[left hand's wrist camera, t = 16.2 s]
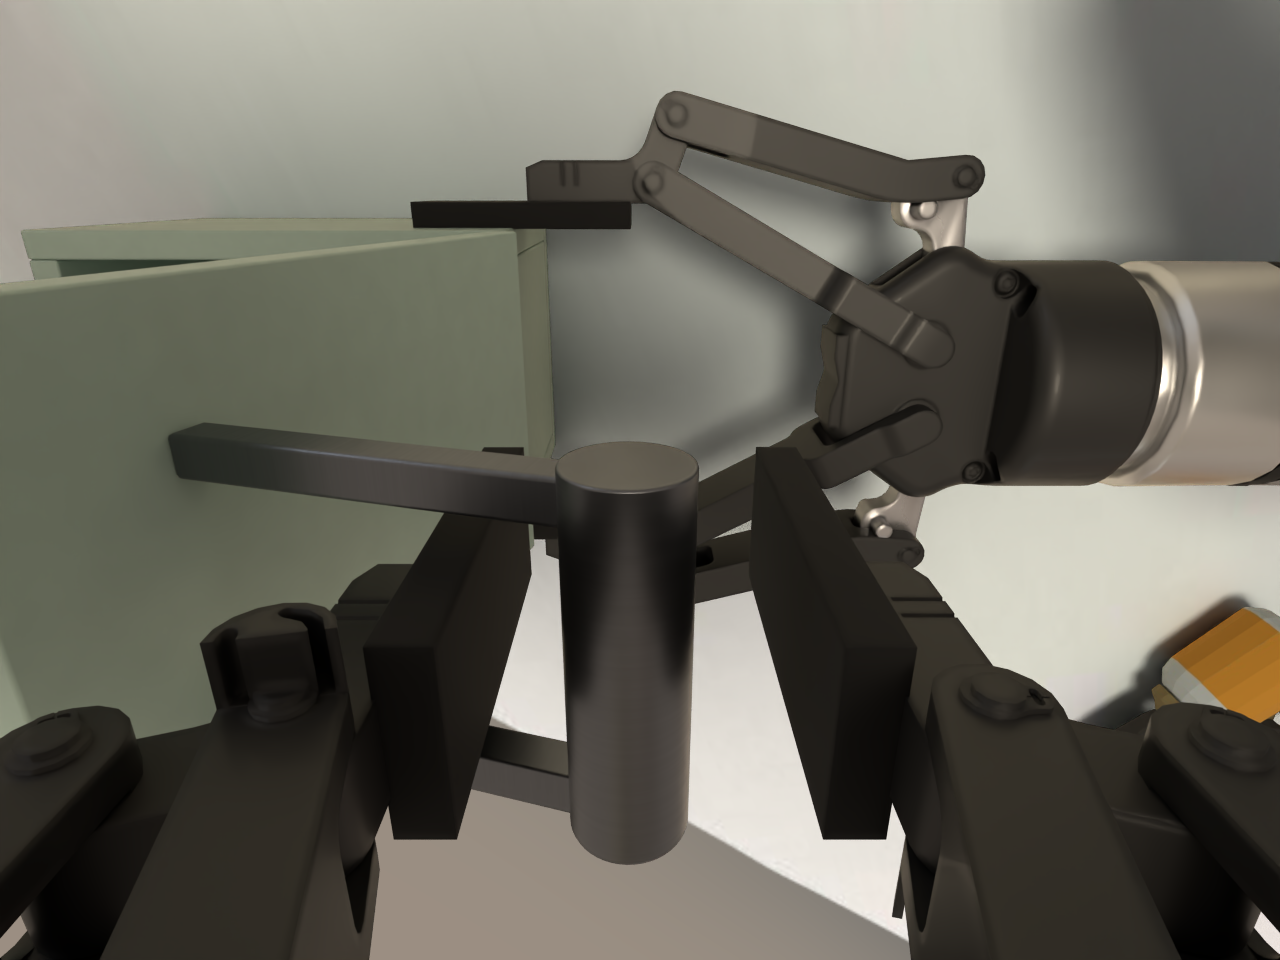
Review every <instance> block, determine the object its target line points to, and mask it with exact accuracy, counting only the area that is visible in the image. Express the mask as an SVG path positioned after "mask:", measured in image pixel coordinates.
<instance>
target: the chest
mask: <svg viewBox="0 0 1280 960" xmlns="http://www.w3.org/2000/svg"><path fill="white" fill-rule="evenodd" d="M488 231H512V232H516V239H517V256H518V273H519V290H520V308H521V325H522V342H523V360H524V377H525V394H526V411H527V429H528V446H529V456H530V457H540V458H549V459H551V456H552V453H553V450H554V447H555V427H554V405H553V382H552V359H551V336H550V313H549V290H548V268H547V245H546V229H512V228H413V222H412V218H200V219H184V220H169V221H153V222H138V223H123V224H107V225H92V226H77V227H61V228H46V229H31V230H23V231H21V234H22V238H23V241H24V245H25V248H26V251H27V255H28V258H29V259H32V260H31V261H30V265H31V268H32V272H33V275H34V279H35V280H41V279H50V278H60V277H69V276H78V275H88V274H97V273H106V272H115V271H125V270H134V269H143V268H153V267H162V266H171V265H181V264H190V263H199V262H209V261H218V260H227V259H237V258H246V257H255V256H265V255H274V254H283V253H293V252H302V251H311V250H320V249H330V248H339V247H348V246H358V245H367V244H376V243H386V242H395V241H404V240H414V239H423V238H432V237H442V236H451V235H460V234H470V233H479V232H488Z"/></svg>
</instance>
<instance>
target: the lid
mask: <svg viewBox="0 0 1280 960" xmlns="http://www.w3.org/2000/svg"><path fill="white" fill-rule="evenodd" d="M484 447H524V456H521V455H511V454H502V453H492V452H483V451H482V449H483V448H484ZM698 484H699V466H698V463H697V461H696V460H695V459H694V458H693V457H692V456H691V455H689V454H688V453H686V452H684V451H682V450H679V449H676V448H673V447H670V446H665V445H661V444H655V443H647V442H609V443H601V444H595V445H590V446H586V447H582V448H579V449H576V450H574V451H571V452H569V453H567V454H565V455H564V456H563V457H561V458H560V459H549V458H540V457H530V456H529V446H528V429H527V411H526V394H525V377H524V360H523V342H522V325H521V308H520V290H519V273H518V256H517V239H516V232H512V231H488V232H479V233H470V234H460V235H451V236H442V237H432V238H423V239H414V240H404V241H395V242H386V243H376V244H367V245H358V246H348V247H339V248H330V249H320V250H311V251H302V252H293V253H283V254H274V255H265V256H255V257H246V258H237V259H227V260H218V261H209V262H199V263H190V264H181V265H171V266H162V267H153V268H143V269H134V270H125V271H115V272H106V273H97V274H88V275H78V276H69V277H60V278H50V279H41V280H32V281H22V282H13V283H4V284H0V738H2V737H3V736H5V735H6V734H8V733H9V732H10V731H12V730H14V729H17V728H19V727H21V726H23V725H25V724H27V723H30V722H32V721H34V720H35V719H37V718H39V717H41V716H44V715H47V714H50V713H53V712H54V713H57V712H58V711H61V710H66V709H71V708H79V707H88V706H98V705H99V706H105V707H111V708H117V709H120V710H121V711H122V712H123V713H124V714H126V715H127V716H128V717H129V718H130V720H131V723H132V727H133V730H134V733H135V736H136V739H139V738H144V737H149V736H154V735H159V734H163V733H168V732H173V731H178V730H183V729H188V728H193V727H197V726H200V725H204V724H208V723H211V721H212V718H213V716H214V714H215V712H216V710H217V709H216V705H215V702H214V698H213V694H212V690H211V686H210V682H209V678H208V674H207V671H206V667H205V663H204V659H203V655H202V651H201V647H200V644H199V643H200V642H201V641H202V640H203V639H204V638H205V637H206V636H207V635H208V634H209V633H210V632H211V630H212V629H214V628H216V627H217V626H219V625H221V624H222V623H224V622H226V621H227V620H229V619H231V618H232V617H235V616H237V615H240V614H243V613H245V612H248V611H251V610H253V609H256V608H260V607H265V606H270V605H275V604H280V603H310V604H315V605H319V606H323V607H326V608H327V609H328V610H329V611H330V610H331V609H332V608H333V606H334V605H335V604H338V599H339V598H340V597H341V595H342V594H343V593H344V591H345V590H346V589H347V587H348V586H349V584H350V583H351V582H352V580H354V579H355V578H357V577H359V576H360V575H362V574H363V573H365V572H366V571H368V570H369V569H371V568H372V567H374V566H376V565H377V564H413V563H414V562H415V560H416V558H417V557H418V555H419V553H420V552H421V550H422V548H423V547H424V545H425V543H426V542H427V540H428V539H429V537H430V535H431V534H432V532H433V530H434V529H435V527H436V525H437V524H438V522H439V520H440V519H441V517H442V515H443V514H444V513H447V514H455V515H463V516H470V517H478V518H486V519H493V520H501V521H508V522H516V523H524V524H529V540H530V549H531V548H532V547H533V546H534V532H533V525H539V526H547V527H554V528H558V550H559V573H560V595H561V618H562V640H563V662H564V685H565V707H566V730H567V742H565V741H560V740H556V739H551V738H546V737H541V736H537V735H532V734H527V733H523V732H518V731H513V730H509V729H504V728H499V727H494V726H490V725H489V727H488V731H487V734H486V738H485V741H484V745H483V748H482V752H481V756H480V759H479V763H478V766H477V770H476V773H475V777H474V780H473V784H472V787H471V789H473V790H477V791H481V792H486V793H490V794H494V795H498V796H502V797H506V798H511V799H515V800H519V801H523V802H528V803H531V804H536V805H540V806H544V807H548V808H552V809H556V810H561V811H565V812H569V813H570V819H571V826H572V830H573V832H574V834H575V837H576V838H577V840H578V841H579V843H580V844H581V845H582V846H583V847H584V848H585V849H586V850H587V851H588V852H590V853H591V854H592V855H594V856H596V857H598V858H600V859H602V860H605V861H608V862H611V863H616V864H625V865H632V864H641V863H646V862H649V861H652V860H655V859H658V858H659V857H661V856H663V855H665V854H666V853H668V852H669V851H670V850H672V849H673V848H674V847H675V846H676V845H677V843H678V842H679V841H680V839H681V838H682V836H683V834H684V832H685V830H686V827H687V822H688V796H689V765H690V734H691V703H692V672H693V640H694V609H695V578H696V547H697V516H698Z"/></svg>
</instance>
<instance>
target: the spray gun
mask: <svg viewBox="0 0 1280 960" xmlns="http://www.w3.org/2000/svg"><path fill="white" fill-rule="evenodd" d="M1162 684H1163V685H1164V687H1165V688H1164V687H1163V686H1162V685H1161V684H1158V685H1157V686H1155V687H1154V688H1153V689H1152V694H1153V697H1154V700H1155V709H1156V710H1157V709H1159V708H1160V707H1161V706H1162V705H1168V704H1174V703H1180V702H1187V703H1196V704H1206V705H1213V706H1217V707H1222V708H1224V709H1226V710H1227V709H1229V710H1232V711H1235V712H1238V713H1241V714H1243V715H1245V716H1247V717H1248V718H1251V719H1253V720H1255V721H1257V722H1259V723H1261V724H1264V725H1266V726H1268V727H1270V728H1272V729H1273V730H1275V731H1276V732H1278V733H1279V734H1280V725H1278V724H1277V723H1276V722H1275V721H1273V719H1274V717H1275V714H1276V713H1278V712H1280V617H1279V616H1278V615H1276V614H1275V613H1273V612H1271V611H1269V610H1267V609H1262V608H1253V607H1244V608H1242V609H1240V610H1239V611H1237V612H1236V613H1235V614H1233V615H1232V616H1230V617H1229V618H1227V619H1226V620H1224V621H1223V622H1221V623H1220V624H1219V625H1217V626H1216V627H1214V628H1213V629H1211V630H1210V631H1208V632H1207V633H1205V634H1204V635H1203V636H1201V637H1200V638H1198V639H1197V640H1195V641H1194V642H1192V643H1191V644H1189V645H1188V646H1187V647H1185V648H1184V649H1182V650H1181V651H1179V652H1178V653H1176V654H1175V655H1173V656H1172V657H1171V658H1170V659H1169V661H1168V662H1167V663H1166V664H1165V665H1164V667H1163V668H1162ZM1155 709H1154V710H1151V711H1148V712H1146V713H1143V714H1142V715H1140V716H1138V717H1136V718H1135V719H1133V720H1131V721H1129V722H1128V723H1126V724H1124V725H1122V726H1121V727H1119V728H1117V729H1115V730H1118V731H1123V732H1128V733H1133V734H1138V735H1143V736H1145V733H1146V730H1147V727H1148V723H1149V720H1150V717H1151V714H1153V713H1154V712H1155V711H1156V710H1155Z"/></svg>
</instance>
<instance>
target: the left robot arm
mask: <svg viewBox="0 0 1280 960" xmlns="http://www.w3.org/2000/svg"><path fill="white" fill-rule="evenodd" d="M482 451H483V452H492V453H502V454H511V455H521V456H524V447H484V448H483V449H482ZM531 575H532V573H531V557H530V540H529V524H524V523H516V522H508V521H501V520H493V519H486V518H478V517H470V516H463V515H455V514H447V513H444V514H443V515H442V517H441V519H440V520H439V522H438V524H437V525H436V527H435V529H434V530H433V532H432V534H431V535H430V537H429V539H428V540H427V542H426V543H425V545H424V547H423V548H422V550H421V552H420V553H419V555H418V557H417V558H416V560H415V562H414V563H413V564H377V565H376V566H374V567H372V568H371V569H369V570H368V571H366V572H365V573H363V574H362V575H360V576H359V577H357V578H355V579H354V580H352V582H351V583H350V584H349V586H348V587H347V589H346V590H345V591H344V593H343V594H342V595H341V597H340V598H339V599H338V604H335V605H334V606H333V608H332V609H331V610H330V611H329V610H328V609H327V608H326V607H323V606H319V605H315V604H310V603H280V604H275V605H270V606H265V607H260V608H256V609H253V610H251V611H248V612H245V613H243V614H240V615H237V616H235V617H232V618H231V619H229V620H227V621H226V622H224V623H222V624H221V625H219V626H217V627H216V628H214V629H212V630H211V632H210V633H209V634H208V635H207V636H206V637H205V638H204V639H203V640H202V641H201V642H200V643H199V644H200V647H201V651H202V655H203V659H204V663H205V667H206V671H207V674H208V678H209V682H210V686H211V690H212V694H213V698H214V702H215V705H216V709H217V710H216V712H215V714H214V716H213V718H212V721H211V723H208V724H204V725H200V726H197V727H193V728H188V729H183V730H178V731H173V732H168V733H163V734H159V735H154V736H149V737H144V738H139V739H136V736H135V733H134V730H133V727H132V723H131V720H130V718H129V717H128V716H127V715H126V714H124V713H123V712H122V711H121V710H120V709H117V708H111V707H105V706H99V705H98V706H88V707H79V708H71V709H66V710H61V711H58V712H57V713H54V712H53V713H50V714H47V715H44V716H41V717H39V718H37V719H35V720H34V721H32V722H30V723H27V724H25V725H23V726H21V727H19V728H17V729H14V730H12V731H10V732H9V733H8V734H6V735H5V736H3V737H2V738H0V938H1V937H2V936H3V935H4V933H5V932H6V931H7V930H8V929H9V928H10V927H11V925H12V924H13V923H14V922H15V921H16V920H17V919H18V917H19V916H20V915H21V917H22V919H23V922H24V924H25V926H26V929H27V932H26V933H25V934H24V935H23V936H22V938H21V939H20V940H19V941H18V942H17V944H16V945H15V946H14V947H12V948H11V949H10V950H9V951H8V952H7V953H6V954H4V955H3V956H2V957H1V958H0V960H369V956H370V947H371V939H372V931H373V922H374V913H375V905H376V897H377V888H378V880H379V871H380V868H379V861H378V854H377V848H376V842H375V836H376V834H377V831H378V829H379V827H380V824H381V822H382V819H383V817H384V814H385V812H386V809H387V807H389V813H390V819H391V825H392V831H393V837H394V839H397V840H400V839H401V840H402V839H403V840H404V839H405V840H406V839H408V840H409V839H410V840H412V839H418V840H419V839H421V840H424V839H425V840H426V839H427V840H428V839H429V840H430V839H431V840H432V839H433V840H436V839H437V840H438V839H440V840H442V839H446V840H447V839H450V840H451V839H454V840H455V839H457V837H458V833H459V830H460V826H461V823H462V819H463V816H464V812H465V809H466V805H467V802H468V798H469V795H470V791H471V787H472V784H473V780H474V777H475V773H476V770H477V766H478V763H479V759H480V756H481V752H482V748H483V745H484V741H485V738H486V734H487V731H488V727H489V724H490V720H491V716H492V713H493V709H494V706H495V702H496V699H497V695H498V692H499V688H500V685H501V681H502V677H503V674H504V670H505V667H506V663H507V660H508V656H509V653H510V649H511V645H512V642H513V638H514V635H515V631H516V628H517V624H518V621H519V617H520V614H521V610H522V606H523V603H524V599H525V596H526V592H527V589H528V585H529V582H530V578H531ZM748 575H749V578H750V582H751V585H752V589H753V592H754V596H755V599H756V603H757V606H758V610H759V614H760V617H761V621H762V624H763V628H764V631H765V635H766V638H767V642H768V646H769V649H770V653H771V656H772V660H773V663H774V667H775V670H776V674H777V677H778V681H779V685H780V688H781V692H782V695H783V699H784V702H785V706H786V709H787V713H788V716H789V720H790V724H791V727H792V731H793V734H794V738H795V741H796V745H797V748H798V752H799V756H800V759H801V763H802V766H803V770H804V773H805V777H806V780H807V784H808V787H809V791H810V795H811V798H812V802H813V805H814V809H815V812H816V816H817V819H818V823H819V827H820V830H821V834H822V837H823V840H886V837H887V831H888V825H889V819H890V813H891V807H892V803H893V806H894V808H895V811H896V813H897V815H898V818H899V820H900V823H901V825H902V828H903V830H904V832H905V835H906V836H905V842H904V848H903V854H902V859H901V865H900V871H899V876H898V882H897V888H896V893H895V899H894V906H893V913H892V917H895V918H900V919H902V916H903V911H904V905H905V912H906V920H907V929H908V937H909V946H910V954H911V960H1280V954H1278V953H1277V952H1276V951H1275V950H1274V949H1273V948H1272V947H1271V946H1270V945H1269V944H1268V943H1266V941H1265V940H1264V939H1263V938H1262V937H1261V935H1260V934H1259V933H1258V932H1257V931H1256V930H1255V928H1254V926H1255V924H1256V922H1257V919H1258V917H1259V915H1260V912H1262V913H1263V914H1264V915H1265V916H1266V917H1267V919H1268V920H1269V921H1270V922H1271V923H1272V924H1273V925H1274V927H1275V928H1276V929H1277V930H1278V931H1279V932H1280V734H1279V733H1278V732H1276V731H1275V730H1273V729H1272V728H1270V727H1268V726H1266V725H1264V724H1261V723H1259V722H1257V721H1255V720H1253V719H1251V718H1248V717H1247V716H1245V715H1243V714H1241V713H1238V712H1235V711H1232V710H1229V709H1227V710H1226V709H1224V708H1222V707H1217V706H1213V705H1206V704H1196V703H1187V702H1180V703H1174V704H1168V705H1162V706H1161V707H1160V708H1159V709H1157V710H1156V711H1155V712H1154V713H1153V714H1151V717H1150V720H1149V723H1148V727H1147V730H1146V733H1145V736H1143V735H1138V734H1133V733H1128V732H1123V731H1118V730H1113V729H1108V728H1104V727H1099V726H1094V725H1089V724H1085V723H1081V722H1077V721H1074V720H1070V719H1068V717H1067V715H1066V713H1065V711H1064V709H1063V707H1062V706H1061V705H1060V704H1059V702H1058V701H1057V700H1056V698H1055V697H1054V696H1053V694H1052V693H1050V692H1049V691H1048V690H1046V689H1045V688H1043V687H1042V686H1041V685H1039V684H1038V683H1036V682H1035V681H1033V680H1032V679H1030V678H1027V677H1025V676H1023V675H1020V674H1018V673H1016V672H1013V671H1011V670H1008V669H1004V668H1000V667H995V666H993V665H992V664H991V662H990V661H989V660H988V658H987V657H986V656H985V654H984V653H983V652H982V650H981V649H980V647H979V646H978V645H977V643H976V642H975V641H974V639H973V638H972V637H971V635H970V634H969V633H968V631H967V630H966V629H965V627H964V626H963V625H962V623H961V622H960V620H959V619H958V618H955V617H954V612H953V611H952V610H951V608H950V607H949V606H948V604H947V603H946V602H945V601H942V596H941V595H940V594H939V592H938V591H937V589H936V588H935V587H934V585H933V584H932V583H931V581H930V580H929V579H928V578H927V577H926V576H924V575H923V574H921V573H919V572H918V571H916V570H915V569H913V568H912V567H910V566H909V565H907V564H905V563H904V562H902V561H865V560H864V558H863V557H862V555H861V553H860V552H859V550H858V548H857V547H856V545H855V544H854V542H853V540H852V539H851V537H850V535H849V534H848V532H847V530H846V529H845V527H844V525H843V524H842V522H841V520H840V519H839V517H838V515H837V514H836V512H835V510H834V509H833V507H832V506H831V504H830V502H829V501H828V499H827V497H826V496H825V494H824V492H823V491H822V489H821V487H820V486H819V484H818V482H817V481H816V479H815V477H814V476H813V474H812V473H811V471H810V469H809V468H808V466H807V464H806V463H805V461H804V459H803V458H802V456H801V454H800V453H799V451H798V449H797V448H796V447H756V458H755V475H754V491H753V507H752V524H751V540H750V556H749V573H748Z"/></svg>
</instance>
